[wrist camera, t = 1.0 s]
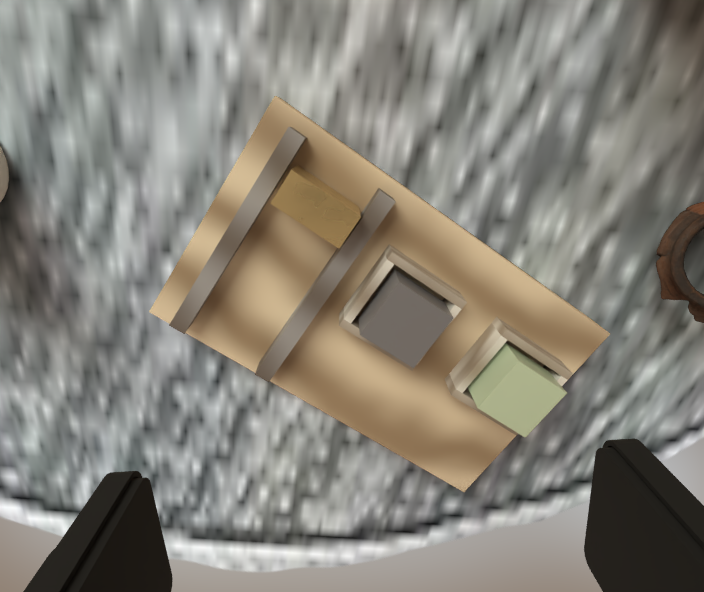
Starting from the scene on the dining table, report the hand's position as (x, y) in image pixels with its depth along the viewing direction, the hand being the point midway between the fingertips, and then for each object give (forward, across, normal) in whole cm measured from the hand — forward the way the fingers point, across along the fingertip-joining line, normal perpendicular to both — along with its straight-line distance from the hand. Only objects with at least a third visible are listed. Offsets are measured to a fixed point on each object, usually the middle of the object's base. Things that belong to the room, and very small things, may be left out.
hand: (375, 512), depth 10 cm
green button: (+24, -11, +11) cm, 28 cm away
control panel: (+29, -2, +6) cm, 29 cm away
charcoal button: (+24, -3, +5) cm, 25 cm away
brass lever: (+25, +2, -3) cm, 25 cm away
